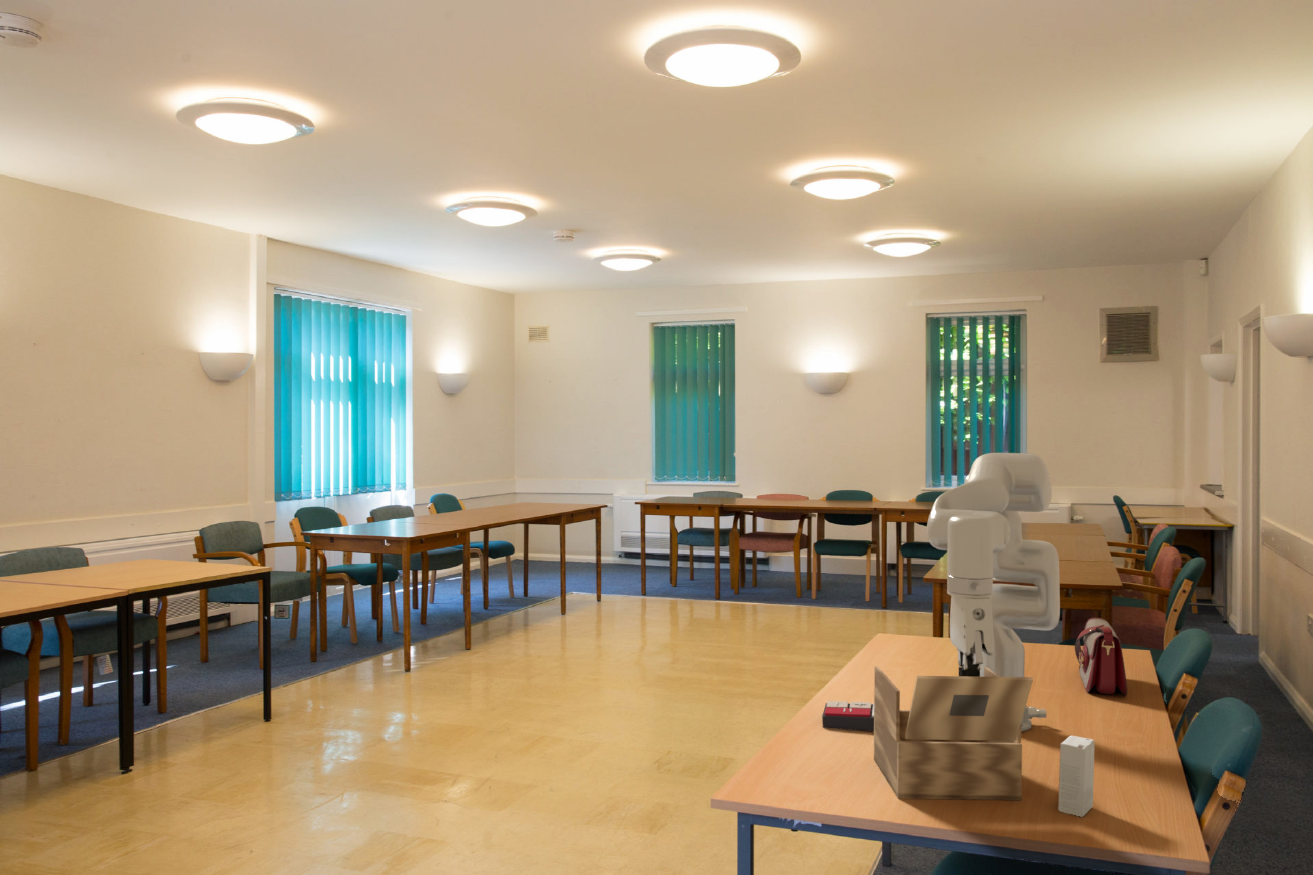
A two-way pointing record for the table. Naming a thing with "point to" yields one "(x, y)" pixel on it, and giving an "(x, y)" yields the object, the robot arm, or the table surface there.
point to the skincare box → (1076, 775)
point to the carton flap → (967, 707)
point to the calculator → (849, 716)
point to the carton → (941, 757)
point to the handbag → (1101, 658)
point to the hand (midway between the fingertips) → (969, 690)
